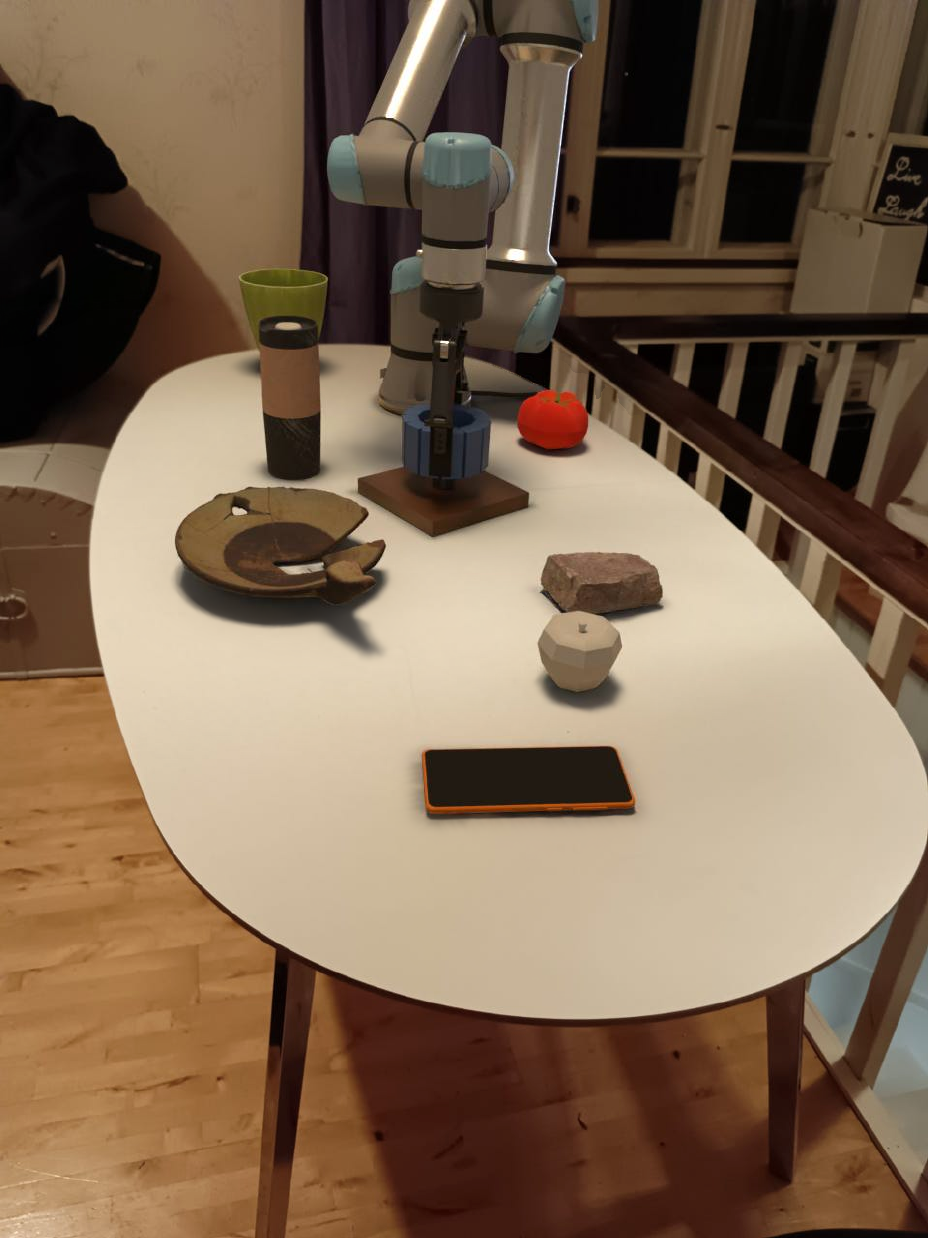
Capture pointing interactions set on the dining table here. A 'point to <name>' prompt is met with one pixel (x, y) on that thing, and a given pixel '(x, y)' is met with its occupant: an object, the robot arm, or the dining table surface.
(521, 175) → the robot arm
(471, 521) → the platform
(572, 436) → the tomato
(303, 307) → the flower pot
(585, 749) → the smartphone
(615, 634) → the apple
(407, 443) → the ring
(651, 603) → the stone
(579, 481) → the dining table surface
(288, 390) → the travel mug
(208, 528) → the brown shallow round piece
